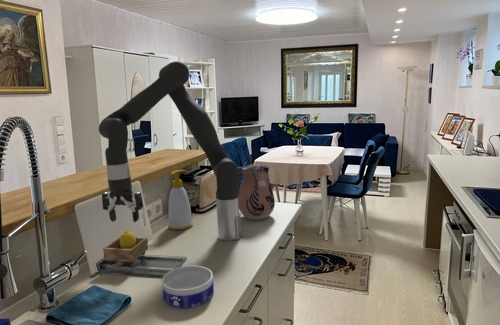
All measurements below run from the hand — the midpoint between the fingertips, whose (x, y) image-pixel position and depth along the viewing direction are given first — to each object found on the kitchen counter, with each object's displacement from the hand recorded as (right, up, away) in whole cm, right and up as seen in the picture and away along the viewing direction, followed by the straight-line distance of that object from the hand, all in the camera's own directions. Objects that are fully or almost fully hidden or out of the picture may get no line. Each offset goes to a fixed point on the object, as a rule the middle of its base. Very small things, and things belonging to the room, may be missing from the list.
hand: (124, 221), depth 131 cm
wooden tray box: (0, -14, +3) cm, 15 cm away
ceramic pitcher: (+46, -6, +49) cm, 67 cm away
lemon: (+1, -12, +2) cm, 12 cm away
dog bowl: (+26, -20, -18) cm, 37 cm away
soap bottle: (+12, -9, +41) cm, 44 cm away
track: (+6, -16, +2) cm, 17 cm away
